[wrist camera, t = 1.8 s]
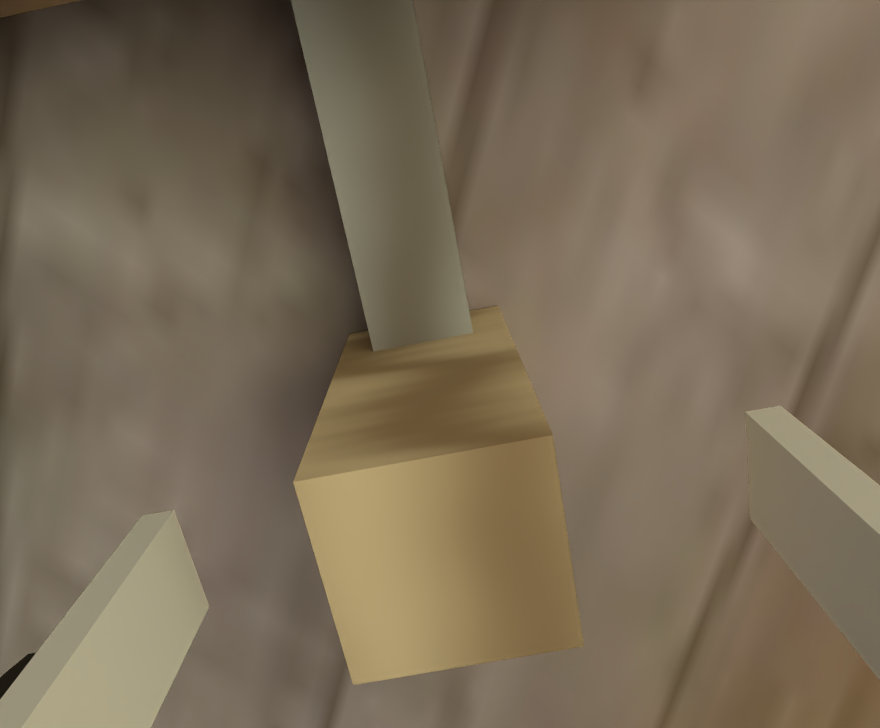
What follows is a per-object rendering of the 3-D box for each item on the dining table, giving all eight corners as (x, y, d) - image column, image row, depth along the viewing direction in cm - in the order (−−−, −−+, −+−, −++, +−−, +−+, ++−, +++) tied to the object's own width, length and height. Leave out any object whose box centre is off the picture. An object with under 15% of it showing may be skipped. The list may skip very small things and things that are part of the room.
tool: (381, 466, 24) (353, 684, 14) (192, -308, 17) (-110, -879, 7) (520, 441, 24) (584, 646, 14) (388, -354, 17) (339, -1003, 7)
